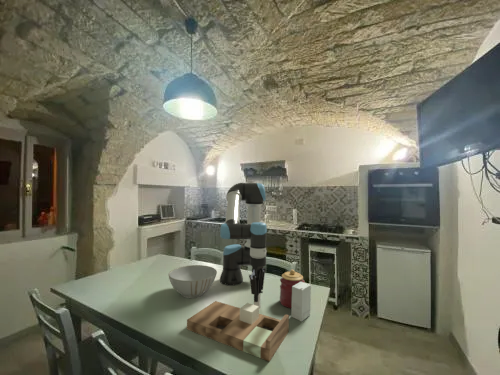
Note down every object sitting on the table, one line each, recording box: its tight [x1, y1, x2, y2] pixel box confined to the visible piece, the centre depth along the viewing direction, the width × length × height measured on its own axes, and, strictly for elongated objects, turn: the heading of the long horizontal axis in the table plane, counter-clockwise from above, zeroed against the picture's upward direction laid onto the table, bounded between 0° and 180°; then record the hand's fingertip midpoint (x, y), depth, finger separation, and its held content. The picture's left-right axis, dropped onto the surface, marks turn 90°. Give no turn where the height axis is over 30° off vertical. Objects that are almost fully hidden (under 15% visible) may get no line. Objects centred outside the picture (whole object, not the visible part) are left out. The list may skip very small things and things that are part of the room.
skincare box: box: [290, 282, 312, 322], centre depth 111 cm, size 8×6×15 cm
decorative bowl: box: [168, 264, 218, 299], centre depth 134 cm, size 27×27×12 cm
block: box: [239, 302, 260, 325], centre depth 100 cm, size 6×6×5 cm
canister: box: [279, 269, 306, 309], centre depth 125 cm, size 13×13×18 cm
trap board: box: [186, 300, 290, 362], centre depth 99 cm, size 38×20×7 cm, turn 62°
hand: (257, 307), depth 108 cm, fingers closed
